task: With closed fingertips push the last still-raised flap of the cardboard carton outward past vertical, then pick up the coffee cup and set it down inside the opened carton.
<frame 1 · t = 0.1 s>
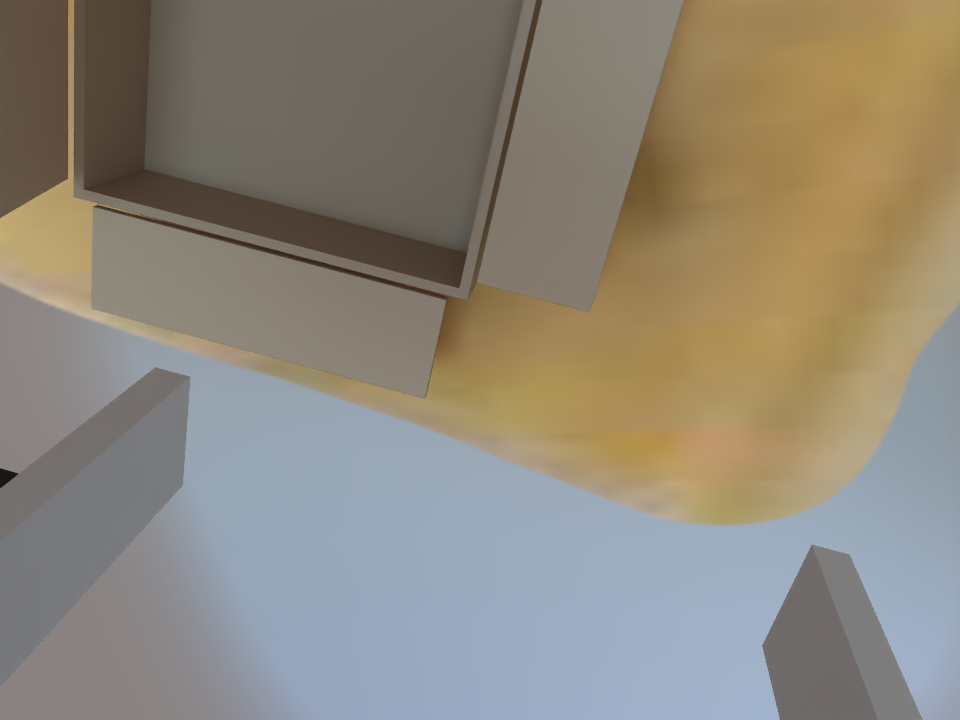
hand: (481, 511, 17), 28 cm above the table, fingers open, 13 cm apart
carton: (335, 28, 40), on the table
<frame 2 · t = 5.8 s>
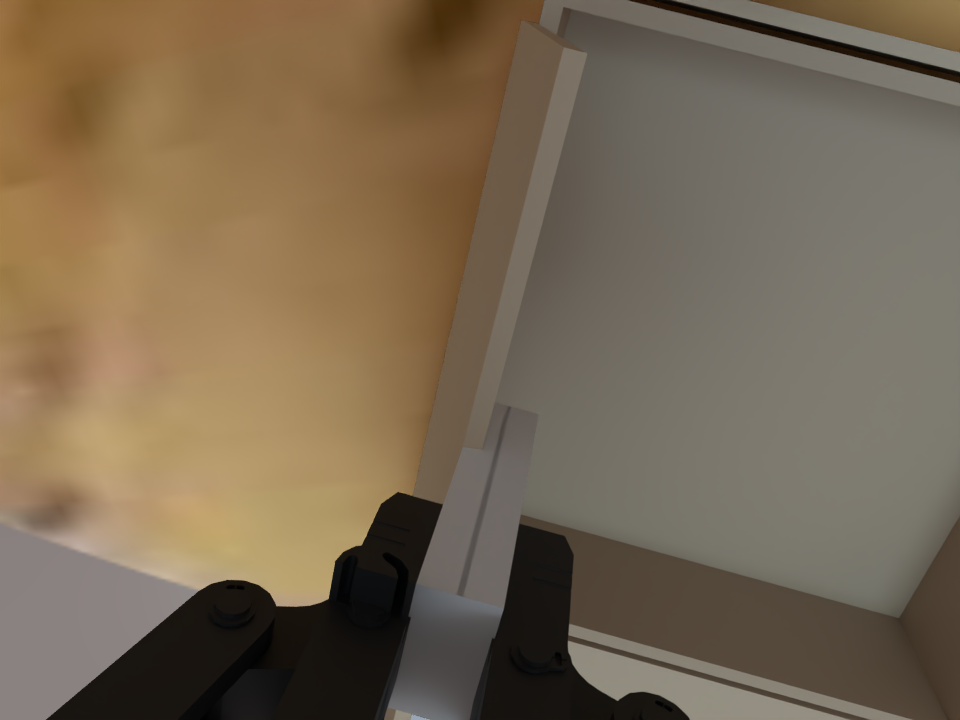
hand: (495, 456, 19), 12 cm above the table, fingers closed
flap: (456, 407, 20), point 10 cm above the table, hinge at 79.4°, touching gripper
carton: (754, 347, 29), on the table
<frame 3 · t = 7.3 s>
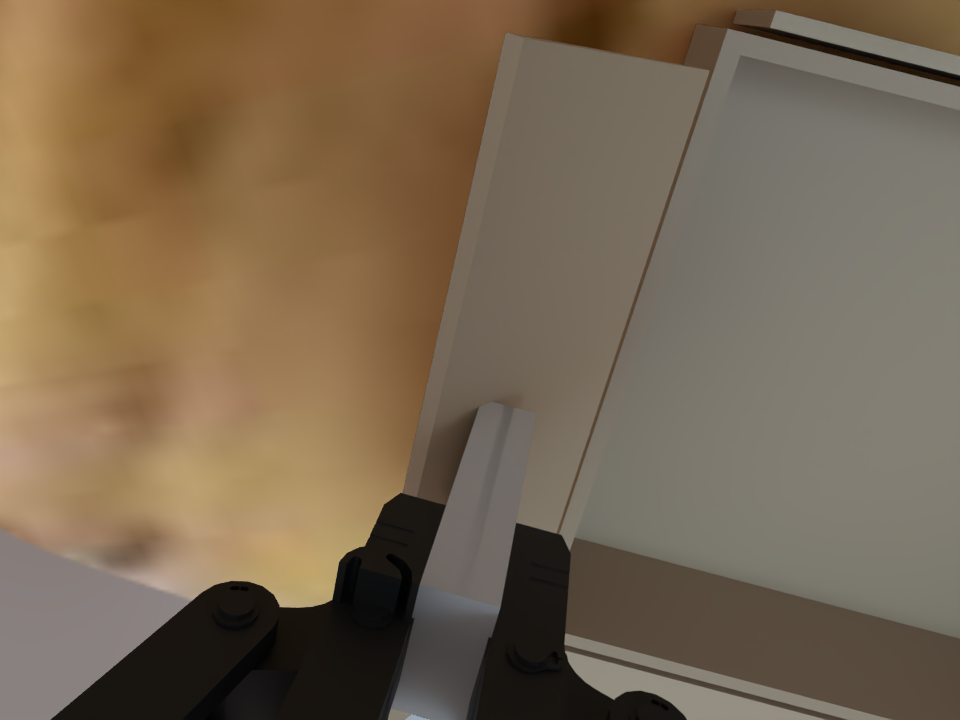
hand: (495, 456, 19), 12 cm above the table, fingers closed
flap: (519, 424, 20), point 10 cm above the table, hinge at 122.4°, touching gripper
carton: (872, 383, 29), on the table
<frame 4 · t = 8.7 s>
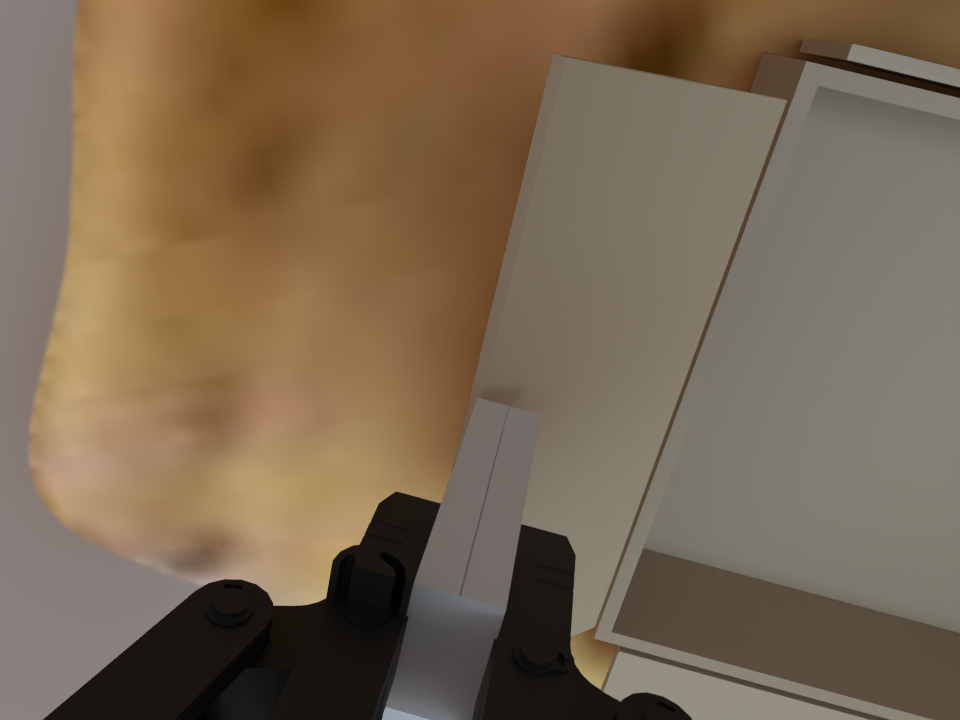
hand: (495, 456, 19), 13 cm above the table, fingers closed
flap: (579, 417, 22), point 9 cm above the table, hinge at 136.0°
carton: (929, 396, 30), on the table
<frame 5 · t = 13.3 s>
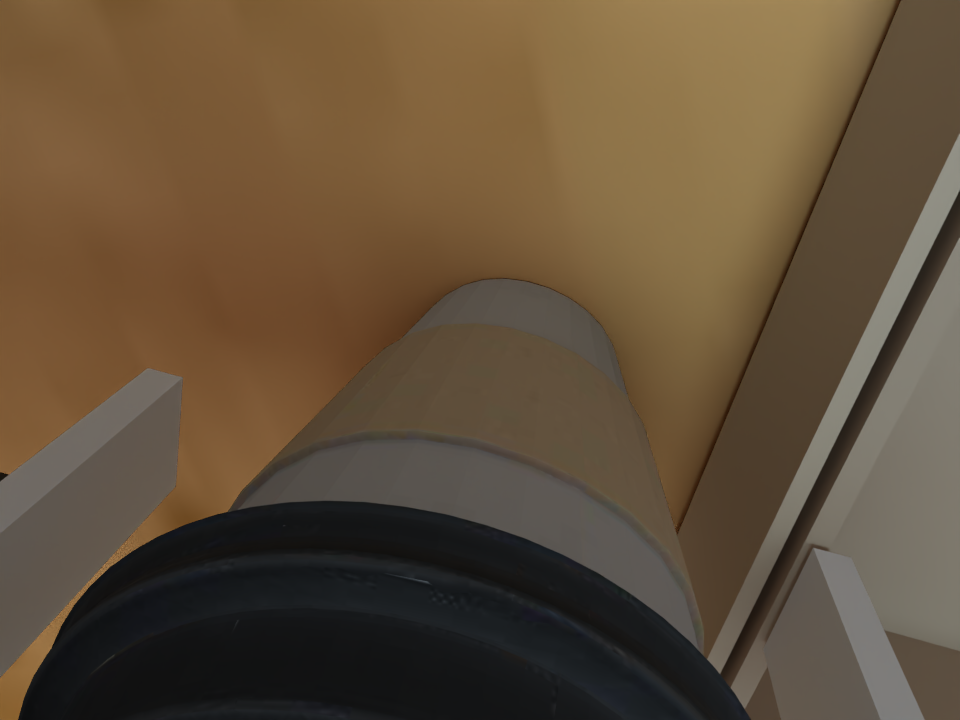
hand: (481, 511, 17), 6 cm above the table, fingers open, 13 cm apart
coffee cup: (507, 373, 22), on the table
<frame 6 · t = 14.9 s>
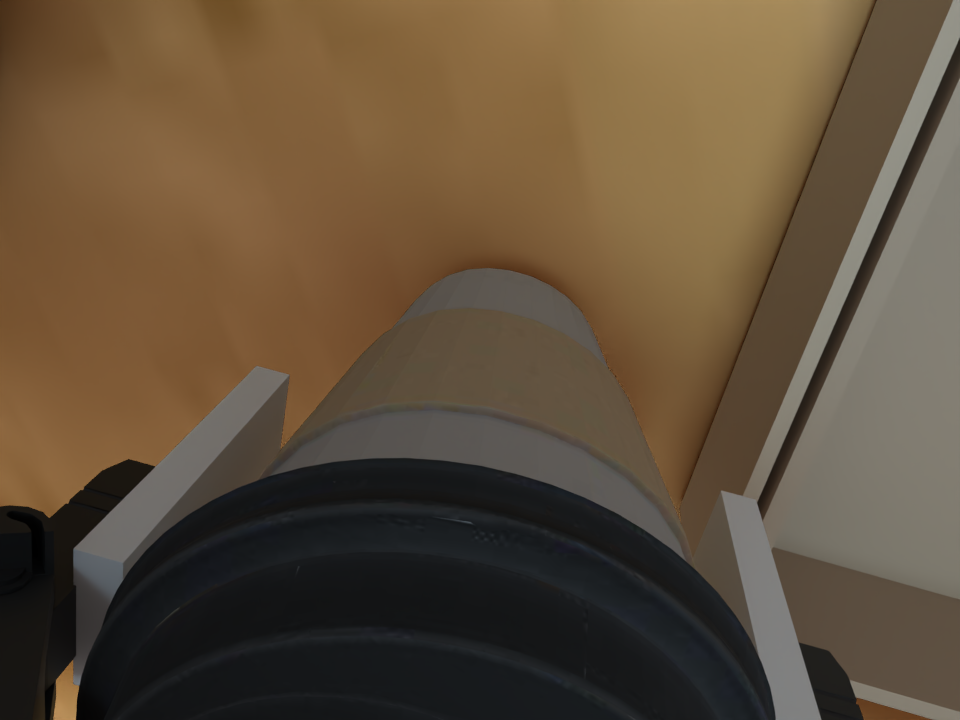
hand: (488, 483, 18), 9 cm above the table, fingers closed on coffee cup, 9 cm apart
coffee cup: (491, 359, 23), point 3 cm above the table, touching gripper
when the fingers open (7 cm above the table, at t = 20.9 s): coffee cup stays where it is, resting on carton.
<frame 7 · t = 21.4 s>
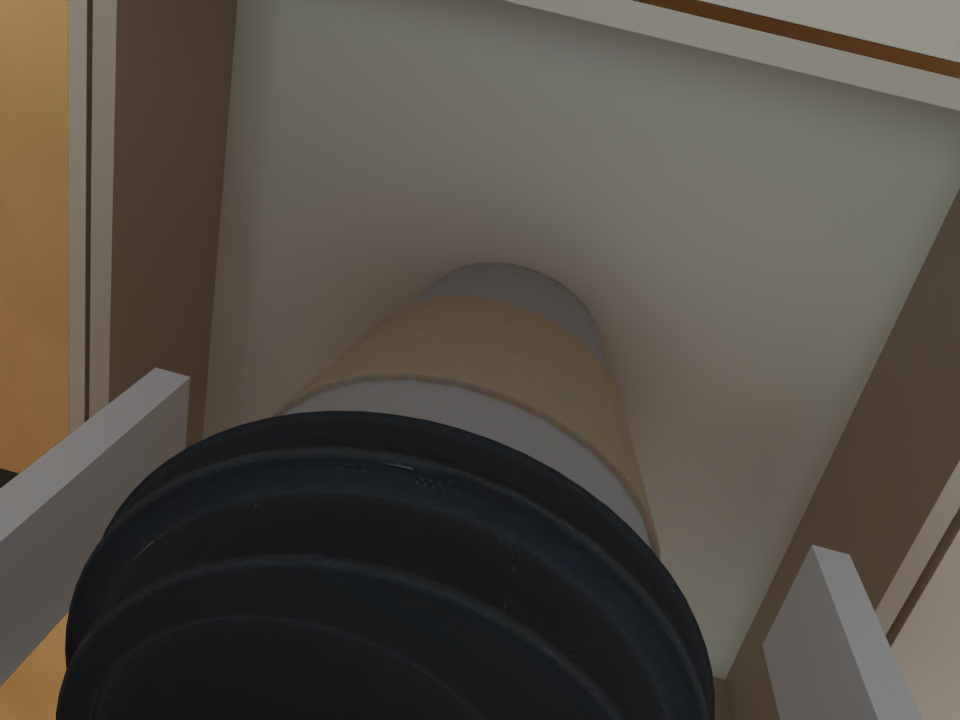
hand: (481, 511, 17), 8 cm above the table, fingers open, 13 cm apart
coffee cup: (499, 352, 24), resting on carton
carton: (521, 357, 24), on the table
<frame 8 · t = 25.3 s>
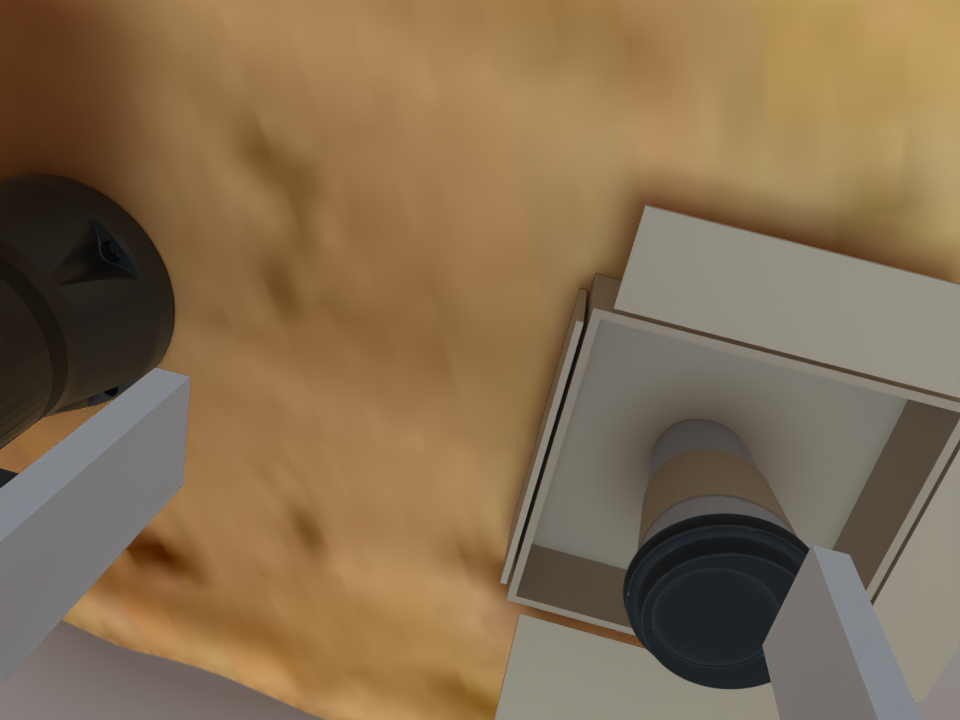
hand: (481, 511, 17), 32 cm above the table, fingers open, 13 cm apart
coffee cup: (696, 457, 50), resting on carton
carton: (705, 459, 51), on the table
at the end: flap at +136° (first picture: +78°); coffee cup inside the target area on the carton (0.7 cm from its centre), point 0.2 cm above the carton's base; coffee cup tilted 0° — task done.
